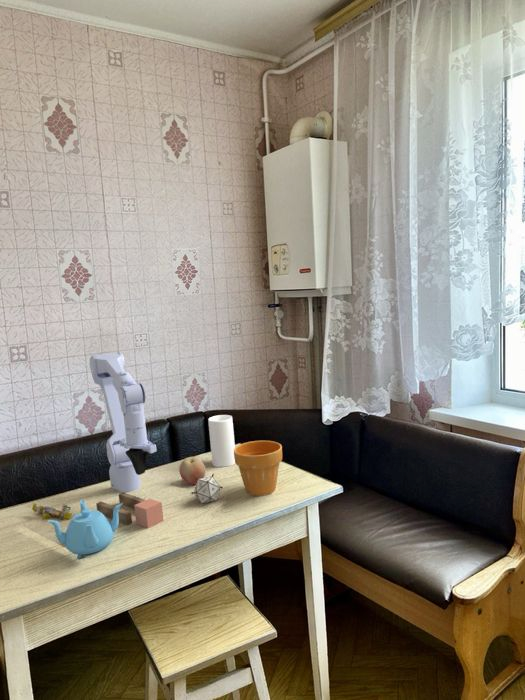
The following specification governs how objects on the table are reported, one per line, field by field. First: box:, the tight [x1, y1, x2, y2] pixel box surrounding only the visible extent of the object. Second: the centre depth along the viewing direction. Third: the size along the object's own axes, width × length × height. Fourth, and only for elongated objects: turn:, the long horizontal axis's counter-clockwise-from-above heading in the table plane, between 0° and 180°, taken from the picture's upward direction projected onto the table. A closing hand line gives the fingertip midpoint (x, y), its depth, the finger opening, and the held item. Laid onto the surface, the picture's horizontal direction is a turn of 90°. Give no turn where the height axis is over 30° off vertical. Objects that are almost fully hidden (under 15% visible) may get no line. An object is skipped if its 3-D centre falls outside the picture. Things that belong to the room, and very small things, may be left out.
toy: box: [31, 503, 72, 521], centre depth 151 cm, size 5×5×15 cm
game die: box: [190, 473, 224, 505], centre depth 152 cm, size 9×8×10 cm
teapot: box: [47, 499, 123, 560], centre depth 130 cm, size 13×13×10 cm
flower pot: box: [234, 440, 283, 497], centre depth 158 cm, size 14×14×13 cm
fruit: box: [179, 456, 206, 485], centre depth 169 cm, size 8×8×8 cm
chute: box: [96, 492, 146, 526], centre depth 148 cm, size 14×9×4 cm, turn 50°
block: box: [134, 498, 164, 529], centre depth 140 cm, size 5×5×5 cm
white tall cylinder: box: [207, 414, 236, 468], centre depth 184 cm, size 8×8×16 cm
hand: (140, 473), depth 153 cm, fingers closed
